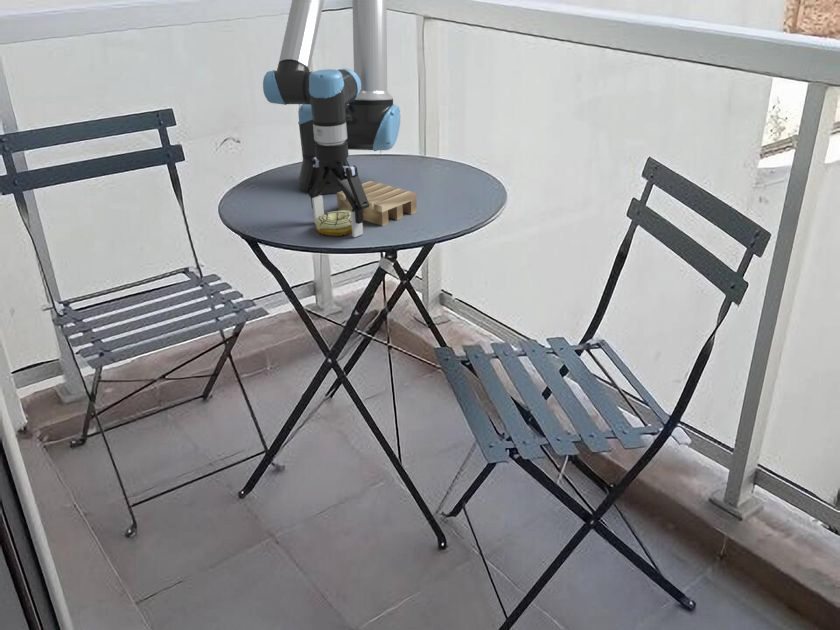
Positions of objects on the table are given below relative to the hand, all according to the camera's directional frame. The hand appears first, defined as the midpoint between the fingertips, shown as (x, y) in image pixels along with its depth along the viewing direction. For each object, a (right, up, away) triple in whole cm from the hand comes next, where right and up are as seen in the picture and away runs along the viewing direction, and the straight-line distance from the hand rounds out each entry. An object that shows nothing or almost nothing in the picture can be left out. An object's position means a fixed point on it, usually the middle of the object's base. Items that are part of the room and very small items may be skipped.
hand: (338, 229), depth 195 cm
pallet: (+9, +5, +10) cm, 14 cm away
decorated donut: (0, 0, 0) cm, 1 cm away
